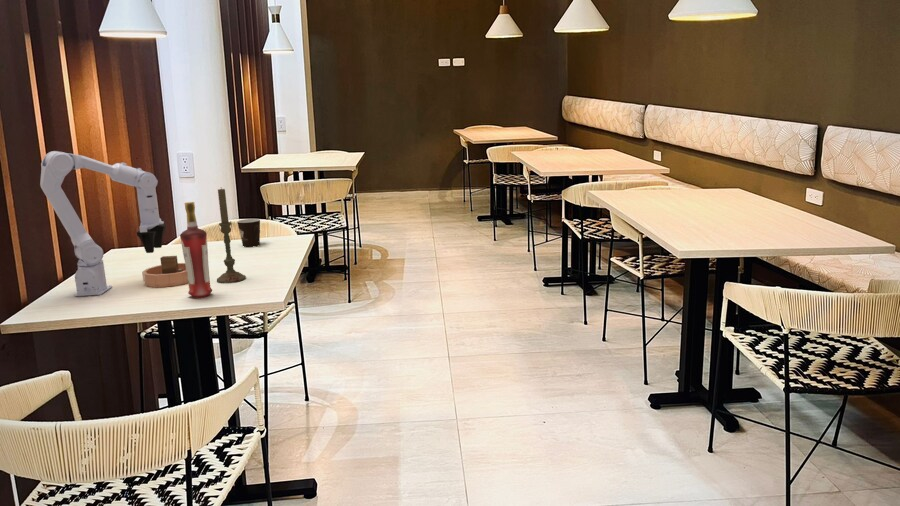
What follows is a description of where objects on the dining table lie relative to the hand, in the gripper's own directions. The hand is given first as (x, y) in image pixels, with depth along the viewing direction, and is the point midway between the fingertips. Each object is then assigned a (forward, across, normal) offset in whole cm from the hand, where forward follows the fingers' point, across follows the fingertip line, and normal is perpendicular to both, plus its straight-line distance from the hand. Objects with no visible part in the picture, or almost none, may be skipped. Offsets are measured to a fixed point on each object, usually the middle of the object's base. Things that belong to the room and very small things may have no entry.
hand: (154, 250), depth 237 cm
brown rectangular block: (+9, -3, -5) cm, 11 cm away
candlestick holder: (+10, -6, -25) cm, 28 cm away
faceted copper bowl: (+10, -3, -5) cm, 11 cm away
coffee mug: (+10, +47, -20) cm, 52 cm away
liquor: (+10, -24, -21) cm, 33 cm away
